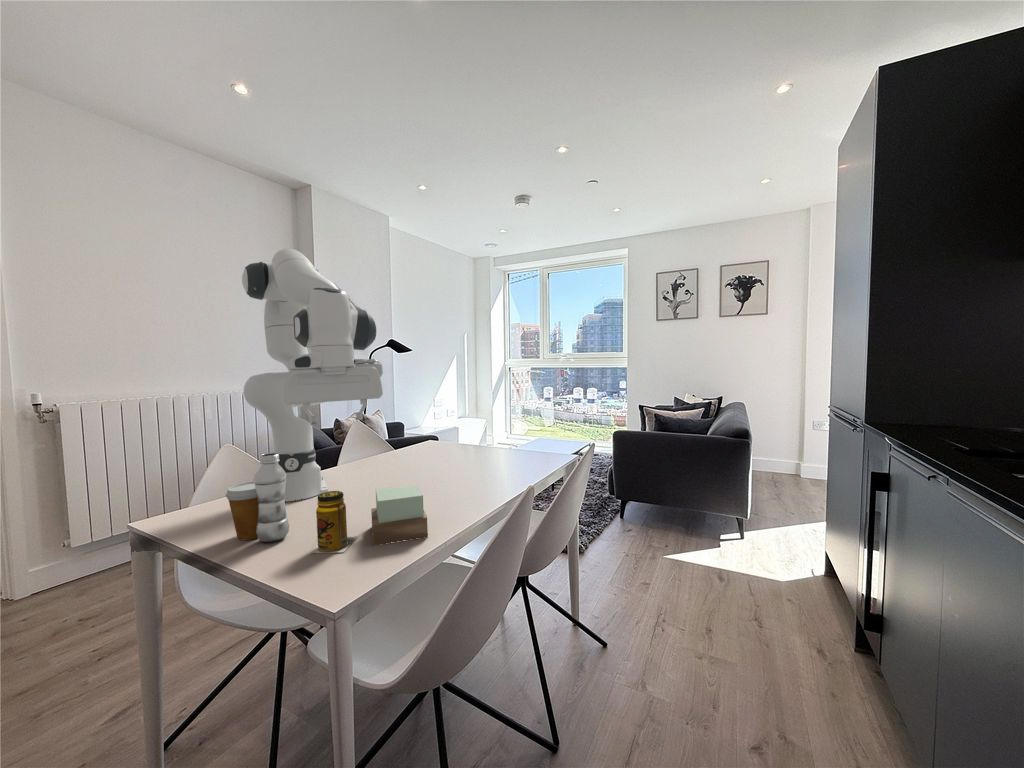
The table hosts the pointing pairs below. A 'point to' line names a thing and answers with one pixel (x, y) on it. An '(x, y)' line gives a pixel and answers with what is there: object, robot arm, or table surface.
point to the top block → (399, 503)
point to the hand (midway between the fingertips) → (337, 421)
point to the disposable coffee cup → (244, 509)
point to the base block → (398, 529)
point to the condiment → (332, 523)
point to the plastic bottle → (271, 499)
